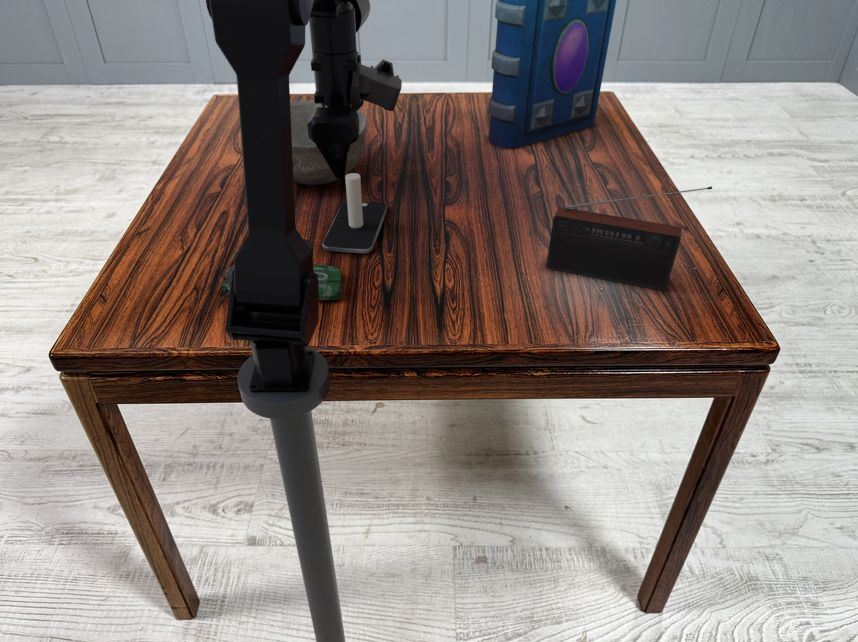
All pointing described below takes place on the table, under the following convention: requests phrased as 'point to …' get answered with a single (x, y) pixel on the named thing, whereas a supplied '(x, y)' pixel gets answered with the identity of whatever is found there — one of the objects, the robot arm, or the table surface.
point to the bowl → (306, 153)
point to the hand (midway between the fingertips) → (343, 164)
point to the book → (547, 68)
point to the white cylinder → (354, 200)
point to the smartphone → (355, 240)
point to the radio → (613, 246)
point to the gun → (326, 278)
